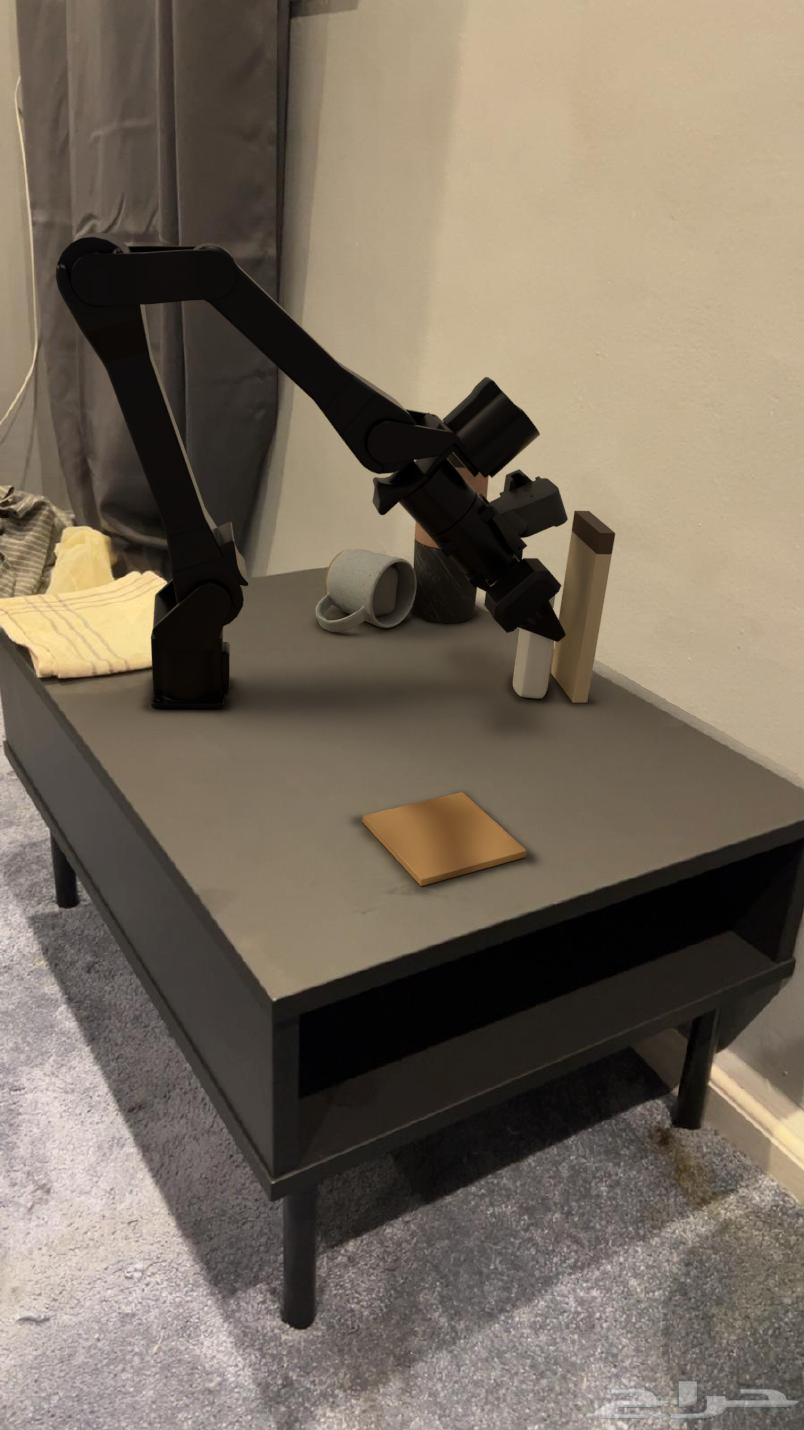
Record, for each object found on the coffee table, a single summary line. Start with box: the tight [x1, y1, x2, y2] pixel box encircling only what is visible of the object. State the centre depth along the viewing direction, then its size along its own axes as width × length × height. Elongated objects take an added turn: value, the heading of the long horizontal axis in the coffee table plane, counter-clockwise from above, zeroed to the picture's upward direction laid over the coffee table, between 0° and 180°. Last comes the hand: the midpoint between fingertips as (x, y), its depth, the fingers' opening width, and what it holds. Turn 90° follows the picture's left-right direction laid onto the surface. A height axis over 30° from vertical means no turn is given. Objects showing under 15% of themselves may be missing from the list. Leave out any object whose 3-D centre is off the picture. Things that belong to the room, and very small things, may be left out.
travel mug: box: [412, 452, 490, 624], centre depth 116 cm, size 8×8×20 cm
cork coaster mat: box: [362, 791, 528, 887], centre depth 79 cm, size 9×9×1 cm
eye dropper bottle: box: [512, 595, 556, 699], centre depth 101 cm, size 4×6×12 cm
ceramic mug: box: [315, 548, 417, 633], centre depth 115 cm, size 11×8×8 cm
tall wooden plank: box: [550, 510, 616, 704], centre depth 101 cm, size 2×7×17 cm, turn 10°
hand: (551, 626), depth 101 cm, fingers closed on eye dropper bottle, 5 cm apart
